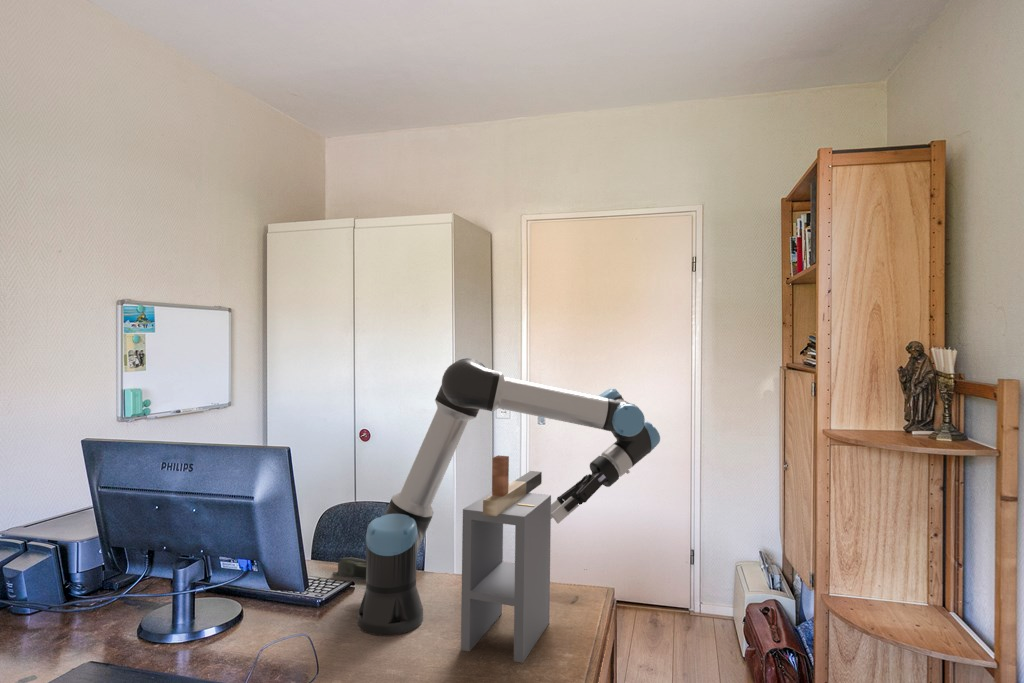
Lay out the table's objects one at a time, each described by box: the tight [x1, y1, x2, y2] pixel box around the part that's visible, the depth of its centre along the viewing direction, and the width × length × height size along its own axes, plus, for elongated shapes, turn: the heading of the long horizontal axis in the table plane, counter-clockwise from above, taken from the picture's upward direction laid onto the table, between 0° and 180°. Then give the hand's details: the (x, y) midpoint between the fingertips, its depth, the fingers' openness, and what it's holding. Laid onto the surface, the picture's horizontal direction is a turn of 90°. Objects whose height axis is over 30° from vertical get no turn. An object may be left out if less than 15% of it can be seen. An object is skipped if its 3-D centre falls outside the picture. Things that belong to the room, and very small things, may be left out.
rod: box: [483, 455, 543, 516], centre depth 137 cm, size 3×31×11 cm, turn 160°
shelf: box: [460, 491, 552, 664], centre depth 133 cm, size 14×19×30 cm
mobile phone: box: [332, 556, 366, 581], centre depth 165 cm, size 5×3×15 cm
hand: (547, 519), depth 144 cm, fingers open, 13 cm apart
